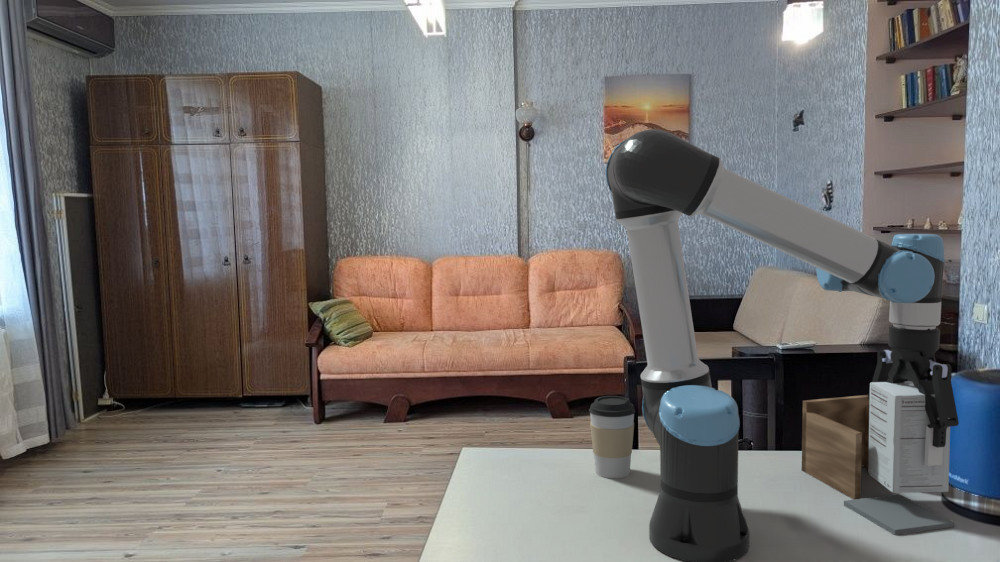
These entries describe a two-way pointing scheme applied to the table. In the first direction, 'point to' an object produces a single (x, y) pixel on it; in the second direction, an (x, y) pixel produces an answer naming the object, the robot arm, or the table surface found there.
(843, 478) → the walnut bay
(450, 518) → the table surface
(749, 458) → the table surface
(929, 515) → the rubber mat
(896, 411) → the supplement box
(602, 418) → the coffee cup
